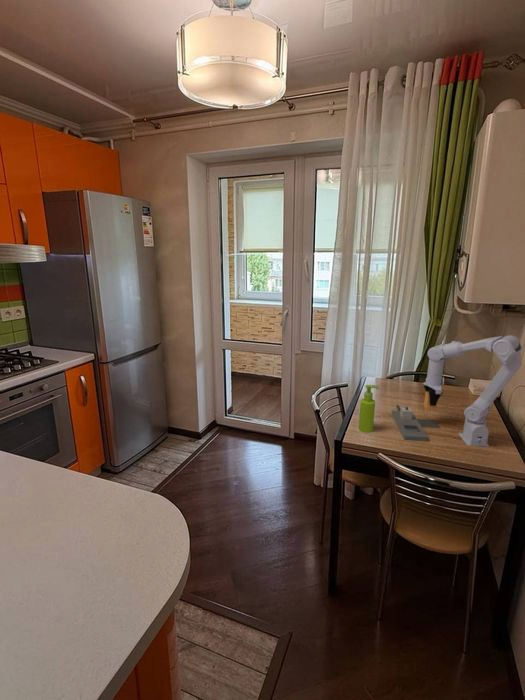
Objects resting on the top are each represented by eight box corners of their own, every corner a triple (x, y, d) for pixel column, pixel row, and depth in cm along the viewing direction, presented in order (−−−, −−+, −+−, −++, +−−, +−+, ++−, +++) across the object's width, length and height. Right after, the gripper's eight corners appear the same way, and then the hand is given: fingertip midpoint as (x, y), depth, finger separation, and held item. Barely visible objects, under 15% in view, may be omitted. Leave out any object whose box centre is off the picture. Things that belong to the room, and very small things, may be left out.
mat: (440, 428, 158) (441, 428, 158) (421, 427, 159) (421, 427, 159) (434, 420, 166) (434, 419, 166) (416, 419, 167) (416, 418, 166)
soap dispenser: (375, 433, 154) (379, 388, 149) (358, 431, 156) (362, 387, 150) (374, 426, 160) (378, 383, 154) (358, 425, 161) (361, 382, 156)
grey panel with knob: (427, 441, 148) (429, 426, 146) (404, 440, 149) (406, 424, 147) (407, 408, 178) (408, 394, 176) (387, 407, 179) (389, 393, 177)
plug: (436, 410, 158) (438, 393, 156) (426, 410, 159) (428, 392, 156) (433, 406, 162) (435, 389, 160) (423, 406, 162) (425, 389, 160)
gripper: (420, 367, 163) (416, 396, 167) (430, 379, 149) (426, 410, 153) (436, 368, 162) (432, 397, 166) (448, 379, 149) (444, 410, 152)
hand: (431, 403), depth 160 cm, fingers closed on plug, 4 cm apart
